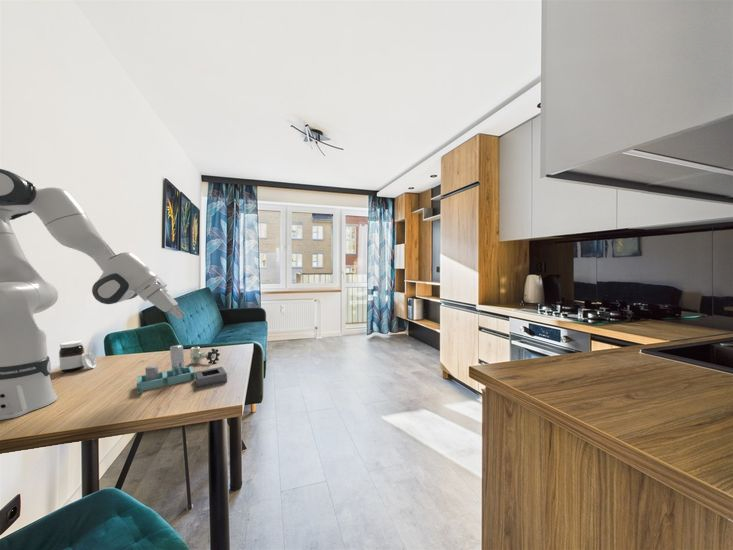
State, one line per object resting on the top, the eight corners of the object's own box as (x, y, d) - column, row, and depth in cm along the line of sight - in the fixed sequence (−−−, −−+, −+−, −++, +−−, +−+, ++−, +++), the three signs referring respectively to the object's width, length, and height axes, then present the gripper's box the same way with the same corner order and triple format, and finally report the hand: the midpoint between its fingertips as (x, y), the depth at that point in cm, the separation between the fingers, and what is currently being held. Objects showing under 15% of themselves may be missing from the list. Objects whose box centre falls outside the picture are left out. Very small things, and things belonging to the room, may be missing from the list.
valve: (186, 364, 134) (208, 366, 131) (185, 349, 134) (208, 351, 130) (198, 360, 140) (220, 361, 137) (197, 345, 140) (219, 346, 137)
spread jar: (60, 369, 132) (59, 342, 132) (96, 362, 140) (94, 337, 139) (59, 376, 123) (57, 347, 123) (97, 369, 131) (95, 341, 131)
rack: (137, 394, 104) (135, 373, 104) (138, 385, 111) (137, 366, 111) (195, 382, 113) (194, 363, 113) (192, 374, 121) (191, 357, 121)
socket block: (198, 391, 105) (197, 379, 105) (195, 382, 113) (194, 371, 112) (227, 384, 110) (226, 373, 110) (222, 377, 118) (222, 366, 117)
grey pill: (172, 381, 112) (170, 348, 111) (172, 378, 115) (169, 346, 114) (185, 378, 114) (183, 346, 113) (184, 375, 117) (182, 344, 116)
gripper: (149, 295, 121) (177, 320, 124) (139, 295, 102) (171, 325, 106) (164, 284, 123) (190, 309, 127) (156, 282, 105) (187, 312, 108)
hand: (182, 316), depth 116 cm, fingers open, 8 cm apart
